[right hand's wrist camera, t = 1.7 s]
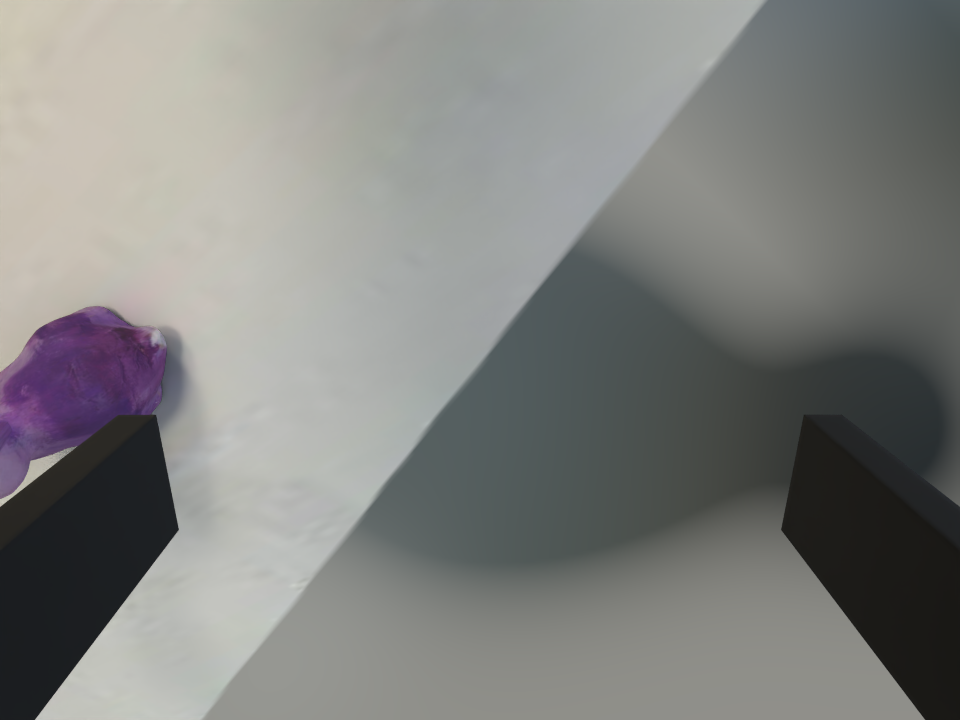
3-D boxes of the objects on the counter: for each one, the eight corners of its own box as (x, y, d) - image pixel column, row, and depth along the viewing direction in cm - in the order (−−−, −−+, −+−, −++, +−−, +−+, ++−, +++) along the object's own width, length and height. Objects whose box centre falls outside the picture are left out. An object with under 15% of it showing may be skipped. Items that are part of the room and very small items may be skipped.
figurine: (34, 427, 43) (-181, 569, 29) (32, 287, 40) (-212, 372, 26) (171, 454, 44) (26, 606, 30) (180, 320, 41) (22, 419, 27)
